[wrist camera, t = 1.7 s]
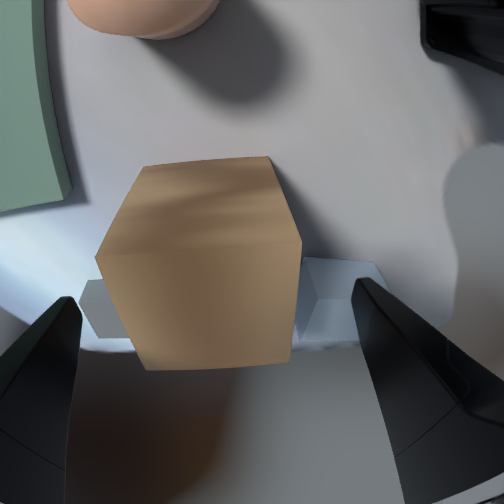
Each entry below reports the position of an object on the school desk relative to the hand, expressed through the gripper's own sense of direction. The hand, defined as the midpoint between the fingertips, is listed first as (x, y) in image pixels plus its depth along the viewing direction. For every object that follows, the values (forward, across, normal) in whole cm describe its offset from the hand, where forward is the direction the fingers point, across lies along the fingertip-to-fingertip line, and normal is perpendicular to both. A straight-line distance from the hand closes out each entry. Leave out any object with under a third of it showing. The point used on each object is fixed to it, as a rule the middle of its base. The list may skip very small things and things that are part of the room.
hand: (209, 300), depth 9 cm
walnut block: (+5, 0, 0) cm, 5 cm away
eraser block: (+5, -6, +5) cm, 9 cm away
